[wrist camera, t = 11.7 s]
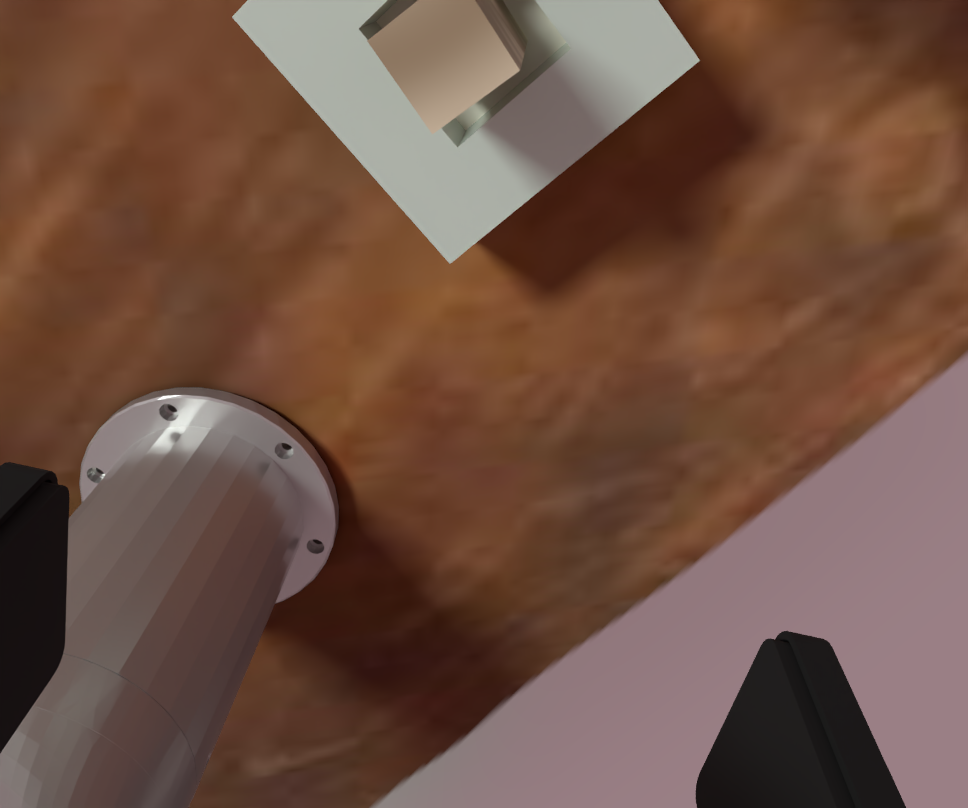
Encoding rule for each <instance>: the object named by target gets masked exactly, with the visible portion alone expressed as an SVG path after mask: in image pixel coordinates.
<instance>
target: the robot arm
mask: <svg viewBox="0 0 968 808" xmlns="http://www.w3.org/2000/svg"><path fill="white" fill-rule="evenodd" d="M286 443H287V444H288V445H287V444H286ZM79 485H80V492H81V500H82V504H81V505H80V506H79V507H78V508H77V510H76V511H75V512H74V513H73V514H72V515H71V517H70V518H69V491H68V488H67V487H66V486H63V485H58V483H57V477H56V475H55V473H53V472H52V471H47V470H43V469H38V468H34V467H29V466H24V465H20V464H15V463H11V462H8V463H4V464H3V465H1V466H0V808H188V807H189V805H190V802H191V800H192V799H193V796H194V794H195V792H196V789H197V787H198V785H199V782H200V780H201V777H202V775H203V772H204V770H205V768H206V765H207V763H208V761H209V759H210V756H211V754H212V751H213V749H214V747H215V744H216V742H217V740H218V737H219V735H220V732H221V730H222V728H223V725H224V723H225V721H226V718H227V716H228V714H229V711H230V709H231V706H232V704H233V702H234V699H235V697H236V695H237V692H238V690H239V688H240V685H241V683H242V680H243V678H244V676H245V673H246V671H247V669H248V666H249V664H250V662H251V659H252V657H253V654H254V652H255V650H256V647H257V645H258V643H259V640H260V638H261V636H262V633H263V631H264V628H265V626H266V624H267V621H268V619H269V617H270V614H271V612H272V609H273V607H274V605H275V604H276V603H279V602H282V601H284V600H286V599H287V598H289V597H291V596H293V595H295V594H297V593H298V592H300V591H301V590H302V589H303V588H305V587H306V586H307V585H308V584H309V583H310V582H312V581H313V580H314V579H315V577H316V576H317V575H318V573H319V572H320V571H321V569H322V568H323V566H324V565H325V564H326V561H327V559H328V557H329V554H330V552H331V550H332V547H333V544H334V541H335V537H336V534H337V530H338V522H339V504H338V499H337V494H336V489H335V485H334V483H333V480H332V478H331V476H330V473H329V471H328V468H327V466H326V464H325V463H324V461H323V460H322V458H321V457H320V455H319V454H318V452H317V451H316V449H315V448H314V446H313V445H312V444H311V443H310V442H309V441H308V440H307V439H306V438H305V437H304V436H303V435H302V434H301V433H300V432H299V431H298V430H297V429H296V428H295V427H294V426H293V425H291V424H290V423H289V422H287V421H286V420H285V419H283V418H282V417H281V416H279V415H278V414H277V413H275V412H273V411H271V410H270V409H268V408H266V407H264V406H262V405H260V404H258V403H256V402H254V401H252V400H250V399H247V398H244V397H241V396H238V395H235V394H232V393H229V392H225V391H219V390H213V389H207V388H172V389H167V390H162V391H156V392H152V393H150V394H147V395H145V396H142V397H140V398H137V399H135V400H133V401H131V402H129V403H128V404H127V405H125V406H124V407H122V408H121V409H119V410H118V411H117V412H115V413H114V414H113V415H112V416H111V417H110V418H109V419H108V420H107V421H106V422H105V423H104V424H103V425H102V426H101V427H100V428H99V430H98V431H97V433H96V434H95V436H94V437H93V439H92V440H91V442H90V443H89V445H88V447H87V450H86V452H85V455H84V458H83V461H82V464H81V473H80V483H79ZM696 804H697V808H906V806H905V804H904V802H903V800H902V798H901V795H900V793H899V791H898V789H897V787H896V785H895V783H894V780H893V778H892V776H891V774H890V772H889V769H888V768H887V765H886V763H885V761H884V759H883V757H882V755H881V752H880V750H879V748H878V746H877V744H876V742H875V739H874V737H873V735H872V733H871V731H870V728H869V726H868V724H867V722H866V720H865V718H864V716H863V713H862V711H861V709H860V707H859V705H858V702H857V700H856V698H855V696H854V694H853V692H852V689H851V687H850V685H849V683H848V681H847V679H846V676H845V674H844V672H843V670H842V668H841V666H840V663H839V661H838V659H837V657H836V655H835V652H834V650H833V648H832V646H831V645H830V643H829V642H828V641H826V640H824V639H821V638H816V637H812V636H807V635H802V634H798V633H793V632H788V631H784V632H781V633H780V634H779V635H778V636H777V637H776V639H775V640H774V639H766V640H765V641H764V642H763V644H762V645H761V647H760V649H759V651H758V653H757V655H756V658H755V659H754V661H753V664H752V666H751V668H750V670H749V672H748V674H747V676H746V678H745V680H744V682H743V684H742V686H741V688H740V691H739V693H738V695H737V697H736V699H735V701H734V703H733V706H732V707H731V709H730V712H729V714H728V716H727V718H726V720H725V722H724V724H723V726H722V728H721V730H720V732H719V734H718V736H717V739H716V740H715V742H714V745H713V747H712V749H711V751H710V753H709V755H708V757H707V759H706V761H705V763H704V765H703V767H702V770H701V772H700V774H699V777H698V780H697V785H696Z"/></svg>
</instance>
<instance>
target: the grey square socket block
mask: <svg viewBox="0 0 968 808" xmlns="http://www.w3.org/2000/svg"><path fill="white" fill-rule="evenodd" d="M417 1H418V0H248V1H247V2H246V3H245V4H244V5H243V6H242V7H241V8H240V9H239V10H238V11H237V12H236V13H235V14H234V15H233V17H232V18H233V19H234V20H235V21H236V22H237V23H238V24H239V26H240V27H241V28H242V29H243V30H244V31H245V32H246V33H247V35H248V36H249V37H250V38H251V39H252V40H253V41H254V43H255V44H256V45H257V46H258V47H259V48H260V49H261V50H262V52H263V53H264V54H265V55H266V56H267V57H268V58H269V60H270V61H271V62H272V63H273V64H274V65H275V66H276V67H277V69H278V70H279V71H280V72H281V73H282V74H283V75H284V77H285V78H286V79H287V80H288V81H289V82H290V83H291V84H292V86H293V87H294V88H295V89H296V90H297V91H298V92H299V93H300V95H301V96H302V97H303V98H304V99H305V100H306V101H307V103H308V104H309V105H310V106H311V107H312V108H313V109H314V110H315V112H316V113H317V114H318V115H319V116H320V117H321V118H322V120H323V121H324V122H325V123H326V124H327V125H328V126H329V127H330V129H331V130H332V131H333V132H334V133H335V134H336V135H337V136H338V138H339V139H340V140H341V141H342V142H343V143H344V144H345V146H346V147H347V148H348V149H349V150H350V151H351V152H352V153H353V155H354V156H355V157H356V158H357V159H358V160H359V161H360V163H361V164H362V165H363V166H364V167H365V168H366V169H367V170H368V172H369V173H370V174H371V175H372V176H373V177H374V178H375V180H376V181H377V182H378V183H379V184H380V185H381V186H382V187H383V189H384V190H385V191H386V192H387V193H388V194H389V195H390V196H391V198H392V199H393V200H394V201H395V202H396V203H397V204H398V206H399V207H400V208H401V209H402V210H403V211H404V212H405V213H406V215H407V216H408V217H409V218H410V219H411V220H412V221H413V223H414V224H415V225H416V226H417V227H418V228H419V229H420V230H421V232H422V233H423V234H424V235H425V236H426V237H427V238H428V240H429V241H430V242H431V243H432V244H433V245H434V246H435V247H436V249H437V250H438V251H439V252H440V253H441V254H442V255H443V256H444V258H445V259H446V260H447V261H448V262H449V263H452V262H453V261H454V260H455V259H457V258H458V257H459V256H460V255H462V254H463V253H464V252H465V251H466V250H468V249H469V248H470V247H471V246H473V245H474V244H475V243H476V242H478V241H479V240H480V239H481V238H482V237H484V236H485V235H486V234H487V233H489V232H490V231H491V230H492V229H493V228H495V227H496V226H497V225H498V224H500V223H501V222H502V221H503V220H505V219H506V218H507V217H508V216H509V215H511V214H512V213H513V212H514V211H516V210H517V209H518V208H519V207H521V206H522V205H523V204H524V203H525V202H527V201H528V200H529V199H530V198H532V197H533V196H534V195H535V194H537V193H538V192H539V191H540V190H541V189H543V188H544V187H545V186H546V185H548V184H549V183H550V182H551V181H553V180H554V179H555V178H556V177H557V176H559V175H560V174H561V173H562V172H564V171H565V170H566V169H567V168H569V167H570V166H571V165H572V164H573V163H575V162H576V161H577V160H578V159H580V158H581V157H582V156H583V155H584V154H586V153H587V152H588V151H589V150H591V149H592V148H593V147H594V146H596V145H597V144H598V143H599V142H600V141H602V140H603V139H604V138H605V137H607V136H608V135H609V134H610V133H612V132H613V131H614V130H615V129H616V128H618V127H619V126H620V125H621V124H623V123H624V122H625V121H626V120H628V119H629V118H630V117H631V116H632V115H634V114H635V113H636V112H637V111H639V110H640V109H641V108H642V107H644V106H645V105H646V104H647V103H648V102H650V101H651V100H652V99H653V98H655V97H656V96H657V95H658V94H660V93H661V92H662V91H663V90H664V89H666V88H667V87H668V86H669V85H671V84H672V83H673V82H674V81H675V80H677V79H678V78H679V77H680V76H682V75H683V74H684V73H685V72H687V71H688V70H689V69H690V68H691V67H693V66H694V65H695V64H696V63H698V62H699V61H700V60H699V58H698V57H697V55H696V54H695V53H694V51H693V50H692V48H691V47H690V45H689V44H688V43H687V41H686V40H685V38H684V37H683V35H682V34H681V33H680V31H679V30H678V28H677V27H676V25H675V24H674V22H673V21H672V20H671V18H670V17H669V15H668V14H667V12H666V11H665V10H664V8H663V7H662V5H661V4H660V2H659V1H658V0H503V1H504V3H505V5H506V6H507V8H508V9H509V11H510V12H511V14H512V16H513V17H514V19H515V20H516V22H517V24H518V25H519V27H520V28H521V30H522V32H523V33H524V35H525V36H526V38H527V40H528V42H527V46H526V50H525V54H524V57H523V61H522V65H521V69H520V71H519V72H517V73H516V74H515V75H513V76H512V77H511V78H509V79H508V80H506V81H505V82H504V83H502V84H501V85H500V86H498V87H497V88H495V89H494V90H493V91H491V92H490V93H489V94H487V95H486V96H485V97H483V98H482V99H480V100H479V101H478V102H476V103H475V104H474V105H472V106H471V107H469V108H468V109H467V110H465V111H464V112H463V113H461V114H460V115H458V116H457V117H456V118H454V119H453V120H452V121H450V122H449V123H447V124H446V125H445V126H443V127H442V128H441V129H439V130H438V131H436V132H435V133H434V134H432V133H431V132H430V130H429V129H428V127H427V126H426V125H425V123H424V122H423V120H422V119H421V117H420V116H419V115H418V113H417V112H416V110H415V109H414V107H413V106H412V104H411V103H410V102H409V100H408V99H407V97H406V96H405V94H404V93H403V92H402V90H401V89H400V87H399V86H398V84H397V83H396V82H395V80H394V79H393V77H392V76H391V74H390V73H389V72H388V70H387V69H386V67H385V66H384V64H383V63H382V62H381V60H380V59H379V57H378V56H377V54H376V53H375V52H374V50H373V49H372V47H371V46H370V44H369V43H368V42H367V40H369V39H370V38H371V37H372V36H374V35H375V34H376V33H377V32H379V31H380V30H381V29H383V28H384V27H385V26H386V25H388V24H389V23H390V22H391V21H393V20H394V19H395V18H396V17H398V16H399V15H400V14H401V13H403V12H404V11H405V10H406V9H408V8H409V7H410V6H411V5H413V4H414V3H415V2H417Z"/></svg>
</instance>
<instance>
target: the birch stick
mask: <svg viewBox="0 0 968 808" xmlns="http://www.w3.org/2000/svg"><path fill="white" fill-rule="evenodd" d="M367 42H368V43H369V44H370V46H371V47H372V49H373V50H374V52H375V53H376V54H377V56H378V57H379V59H380V60H381V62H382V63H383V64H384V66H385V67H386V69H387V70H388V72H389V73H390V74H391V76H392V77H393V79H394V80H395V82H396V83H397V84H398V86H399V87H400V89H401V90H402V92H403V93H404V94H405V96H406V97H407V99H408V100H409V102H410V103H411V104H412V106H413V107H414V109H415V110H416V112H417V113H418V115H419V116H420V117H421V119H422V120H423V122H424V123H425V125H426V126H427V127H428V129H429V130H430V132H431V133H432V134H434V133H435V132H436V131H438V130H439V129H441V128H442V127H443V126H445V125H446V124H447V123H449V122H450V121H452V120H453V119H454V118H456V117H457V116H458V115H460V114H461V113H463V112H464V111H465V110H467V109H468V108H469V107H471V106H472V105H474V104H475V103H476V102H478V101H479V100H480V99H482V98H483V97H485V96H486V95H487V94H489V93H490V92H491V91H493V90H494V89H495V88H497V87H498V86H500V85H501V84H502V83H504V82H505V81H506V80H508V79H509V78H511V77H512V76H513V75H515V74H516V73H517V72H519V71H520V69H521V65H522V61H523V57H524V54H525V50H526V46H527V42H528V40H527V38H526V36H525V35H524V33H523V32H522V30H521V28H520V27H519V25H518V24H517V22H516V20H515V19H514V17H513V16H512V14H511V12H510V11H509V9H508V8H507V6H506V5H505V3H504V1H503V0H418V1H417V2H415V3H414V4H413V5H411V6H410V7H409V8H408V9H406V10H405V11H404V12H403V13H401V14H400V15H399V16H398V17H396V18H395V19H394V20H393V21H391V22H390V23H389V24H388V25H386V26H385V27H384V28H383V29H381V30H380V31H379V32H377V33H376V34H375V35H374V36H372V37H371V38H370V39H369V40H367Z"/></svg>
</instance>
